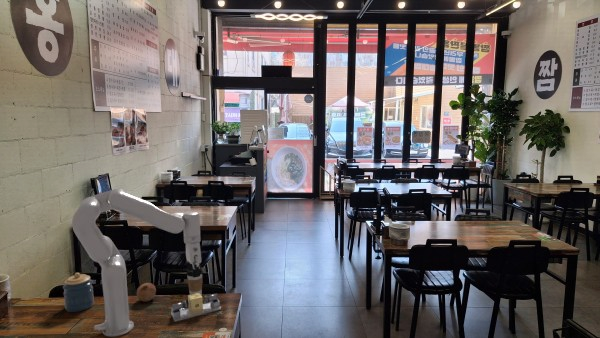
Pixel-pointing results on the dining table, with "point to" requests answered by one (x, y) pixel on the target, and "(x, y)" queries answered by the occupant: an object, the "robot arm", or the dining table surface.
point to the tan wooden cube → (195, 303)
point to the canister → (78, 293)
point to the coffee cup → (194, 282)
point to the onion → (146, 292)
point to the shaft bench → (207, 308)
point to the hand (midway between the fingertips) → (193, 273)
